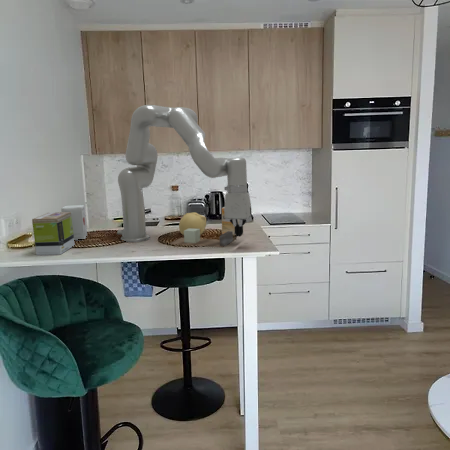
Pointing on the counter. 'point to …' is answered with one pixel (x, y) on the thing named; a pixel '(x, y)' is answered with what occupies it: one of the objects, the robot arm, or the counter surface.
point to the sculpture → (192, 222)
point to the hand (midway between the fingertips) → (239, 235)
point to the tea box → (53, 233)
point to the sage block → (191, 235)
